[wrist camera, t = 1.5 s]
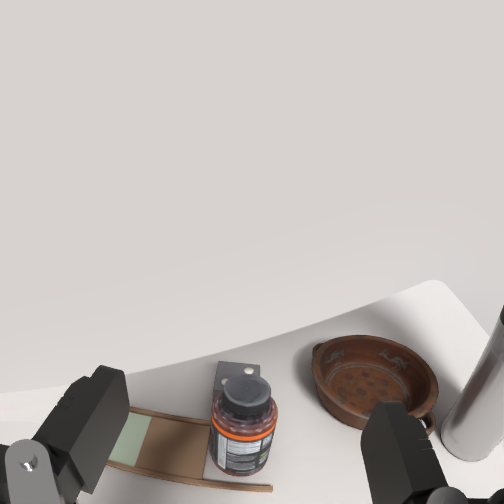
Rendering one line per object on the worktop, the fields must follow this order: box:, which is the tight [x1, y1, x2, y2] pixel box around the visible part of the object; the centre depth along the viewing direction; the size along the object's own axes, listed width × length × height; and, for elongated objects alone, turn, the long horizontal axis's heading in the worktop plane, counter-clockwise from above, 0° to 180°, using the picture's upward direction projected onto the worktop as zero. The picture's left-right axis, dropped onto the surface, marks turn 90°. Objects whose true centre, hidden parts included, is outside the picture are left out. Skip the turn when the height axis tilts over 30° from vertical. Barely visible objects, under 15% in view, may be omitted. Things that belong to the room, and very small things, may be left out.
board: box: [106, 407, 273, 492], centre depth 29 cm, size 21×9×1 cm, turn 88°
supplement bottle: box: [211, 374, 278, 476], centre depth 27 cm, size 6×6×11 cm
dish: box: [312, 335, 439, 436], centre depth 38 cm, size 18×22×5 cm
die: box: [213, 361, 260, 402], centre depth 36 cm, size 5×5×5 cm
